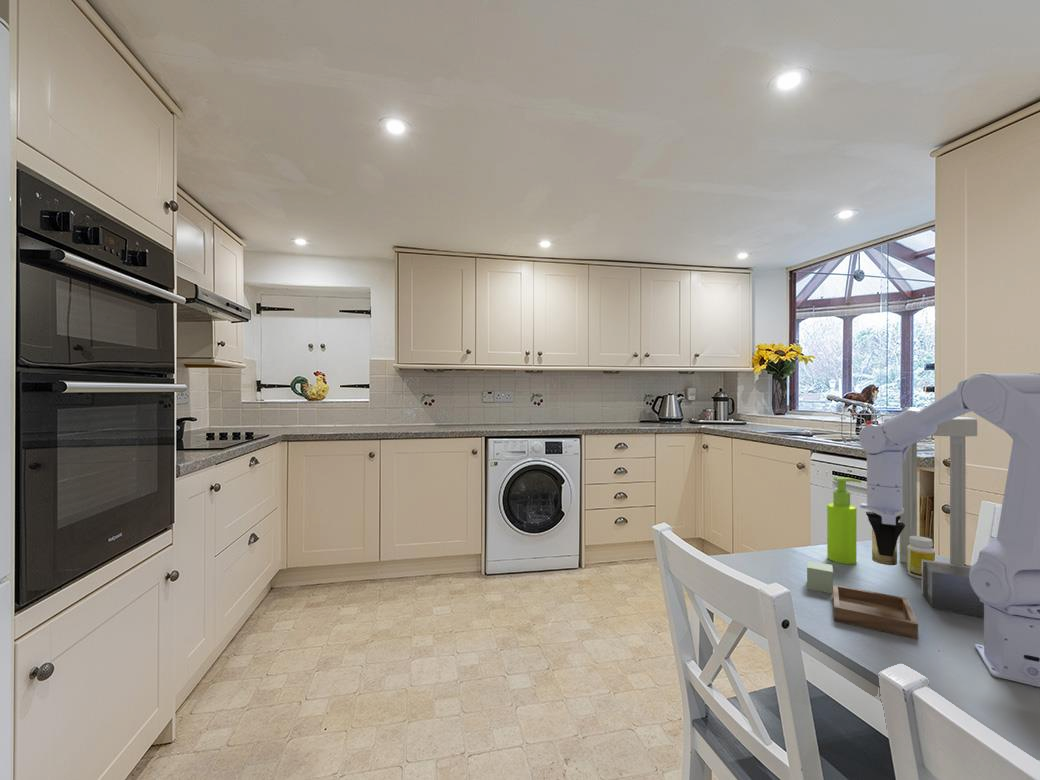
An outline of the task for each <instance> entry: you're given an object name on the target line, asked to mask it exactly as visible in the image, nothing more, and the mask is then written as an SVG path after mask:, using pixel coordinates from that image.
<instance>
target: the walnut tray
mask: <svg viewBox="0 0 1040 780" xmlns="http://www.w3.org/2000/svg"><path fill="white" fill-rule="evenodd" d="M832 602H833V603H832V605H833V619H834V622H837V623H843V624H847V625H851V626H856V627H860V628H865V629H866V628H867V629H871V630H874V631H879V632H884V633H888V634H891V635H892V634H893V635H896V636H897V635H898V636H902V637H905V638H911V639H915V640H919V623H918V621H917V618H916V615H915V614H914V612H913V609H912V606H911V603H910V601H909V599H908V597H905V596H904V597H903V596H897V595H892V594H887V593H881V592H876V591H871V590H870V591H869V590H866V589H860V588H854V587H849V586H844V585H839V584H838V585H837V584H833V593H832Z"/></svg>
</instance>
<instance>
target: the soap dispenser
mask: <svg viewBox="0 0 1040 780" xmlns="http://www.w3.org/2000/svg"><path fill="white" fill-rule="evenodd" d="M833 481H835V482H837V489H834V490H833V493H832V494H833V498H832V499H833V501H832V503H827V504H826V505H827V508H826V513H827V517H826V519H827V523H826V524H827V528H826V529H827V533H826V535H827V541H826V542H827V544H826V545H827V546H826V547H827V550H826V551H827V552H826V553H827V554H826V556H827V559H828V560H830V561H832V562H836V563H840V564H845V565H854V564H856V563H857V506H854V505H852V504H851V492H850V491H848V490H847V482H854V483H855V482H856V483H859V484H860V483H862V480H860V479H856V478H852V477H843V476H841V477H833Z"/></svg>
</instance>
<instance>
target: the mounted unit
mask: <svg viewBox="0 0 1040 780" xmlns="http://www.w3.org/2000/svg"><path fill="white" fill-rule="evenodd" d="M971 567H972V566H969V565H964V566H963V565H956V564H950V562H948V563H947V562H941V561H940V562H939V561H936V560H935V561H929V560H922V579H921V595H922V597H926V599H927V601H928V603H929V605H930V607H931V608H932V609H933V610H940V611H945V612H950V613H954V614H955V613H956V614H959V615H960V614H961V615H966V616H970V617H971V616H972V617H976V618H982V619H984V603H983V602H981V601H980V598H979V597H978V596H977V595H976V593H975V592H974V590H973V589H972V586H971V584H970V580H969V572H970V569H971Z"/></svg>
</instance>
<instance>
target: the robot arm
mask: <svg viewBox="0 0 1040 780" xmlns="http://www.w3.org/2000/svg"><path fill="white" fill-rule="evenodd" d="M956 386H957V387H955V388H954V389H953V390H951V391H949V392H948V393H947V394H945V395H943V396H941V397H940V398H938V399H936V400H934V401H933V402H931V403H930V404H929V405H927V406H924V407H923V408H920V407H912V406H911V407H903V408H901V409H900V412H901V413H899V414H897V415H894V416H895V417H893V416H892V417H893V418H886V419H884V420H883V422H882V423H880V424H879V425H878V424H877V425H876V424H870V423H869V424H866V425H865V426H864V427H863V428H862V429H861V430H860V433H859V439H858V440H859V444H860V447H861V448H862V450H863V451H864V452H865V453H866V503H864V502H861V503H859V507H860V508H861V509H865V510H868V511H865V515H866V516H867V520H868V522H869V524H870V525H871V528H872V530H874V533H875V537H876V543H877V548H878V552H879V554H880V555H884V556H890V557H893V554H894V551H895V547H896V543H897V544H898V540H899V538H900V533H901V531H902V530H903V529H904V527H905V524H904V523H900V518H901V516H900V515H901V514H903V513H904V508H903V462H904V461H905V460H906V453H907V451H908V450H909V448H910V446H911V444H913V443H915V442H917V443H918V442H919V441H922V440H924V439H927V438H928V437H931V435H933V434H934V433H935V432H936V430H937V425H938V424H941V423H943V422H946V421H948V420H951V419H953V418H956V417H962V416H963V415H966V414H969V413H971V412H973V413H974V414H976V415H977V416H979V418H982V419H984V420H985V421H988V423H990V424H992V425H994V426H996V427H997V428H999V429H1000V430H1003V431H1004V432H1005V433H1006V434H1007V435H1008V436H1009V437H1010V438H1011V440H1012V444H1011V453H1010V456H1009V463H1008V470H1007V475H1006V480H1005V486H1004V487H1005V488H1004V492H1003V493H1004V494H1003V499H1002V506H1001V511H1000V517H999V523H998V527H997V528H998V529H997V534H996V538H995V539H994V540H993V541H991V543H989V544H987V545H986V546H984V547H983V548H982V549H981V550H979V553H978V557H977V561H976V562H975V563H974V564H973V565H972V566H970V567H971V569H970V572H969V580H970V584H971V586H972V589H973V590H974V592H975V593H976V595H977V596H978V597H979V598H980V601H981V602H983V603H984V618H983V644H977V643H975V644H974V648H975V650H976V651H977V653H978V654H979V656H980V658H981V660H982V661H983V662H984V665H985V666H986V668H987V670H988V671H989V673H990V675H992V676H994V677H996V678H1000V679H1005V680H1009V681H1012V682H1013V681H1014V682H1017V683H1021V684H1025V685H1030V686H1034V687H1038V688H1040V373H1039V372H1031V373H990V372H989V373H988V372H980V373H976V374H973V375H971V376H970V377H969V378H968V379H967V378H966V379H964V380H960V381H959V382H958V384H957V385H956Z"/></svg>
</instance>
